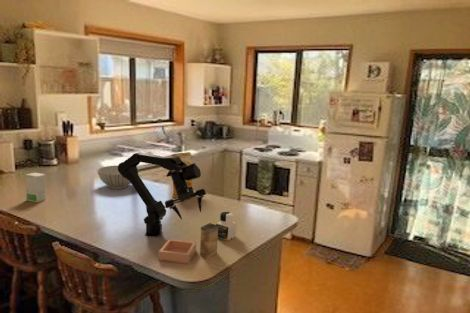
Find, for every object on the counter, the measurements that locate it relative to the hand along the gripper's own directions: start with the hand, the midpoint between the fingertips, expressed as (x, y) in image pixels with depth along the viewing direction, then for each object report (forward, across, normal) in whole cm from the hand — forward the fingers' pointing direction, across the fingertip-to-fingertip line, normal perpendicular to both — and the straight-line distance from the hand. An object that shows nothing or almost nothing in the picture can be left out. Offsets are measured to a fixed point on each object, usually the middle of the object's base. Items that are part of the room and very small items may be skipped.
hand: (191, 215), depth 164 cm
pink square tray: (+12, -11, -12) cm, 20 cm away
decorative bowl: (-21, -40, +93) cm, 103 cm away
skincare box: (-29, -81, +63) cm, 107 cm away
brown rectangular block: (+16, +2, -11) cm, 20 cm away
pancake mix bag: (-3, -1, +74) cm, 74 cm away
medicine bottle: (+17, +12, +7) cm, 22 cm away
